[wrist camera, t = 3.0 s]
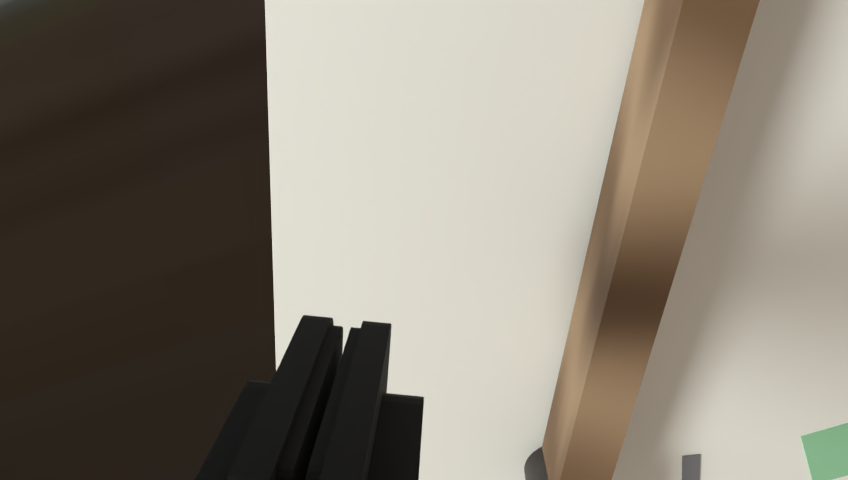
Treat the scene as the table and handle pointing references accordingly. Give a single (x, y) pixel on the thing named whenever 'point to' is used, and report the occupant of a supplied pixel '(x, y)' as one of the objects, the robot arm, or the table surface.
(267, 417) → the robot arm
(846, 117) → the dial board
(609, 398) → the pointer
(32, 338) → the table surface
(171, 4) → the table surface
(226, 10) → the table surface
